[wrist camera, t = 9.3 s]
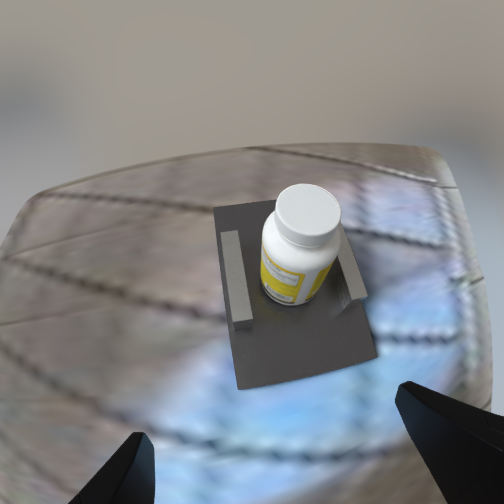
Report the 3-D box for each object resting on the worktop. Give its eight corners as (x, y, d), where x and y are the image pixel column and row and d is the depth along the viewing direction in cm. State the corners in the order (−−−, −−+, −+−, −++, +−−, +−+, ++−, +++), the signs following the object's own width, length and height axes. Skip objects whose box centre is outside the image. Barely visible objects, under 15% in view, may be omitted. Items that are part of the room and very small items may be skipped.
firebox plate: (373, 358, 21) (389, 351, 18) (238, 389, 20) (236, 389, 17) (320, 199, 30) (326, 179, 27) (214, 212, 29) (210, 191, 26)
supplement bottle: (311, 248, 26) (337, 173, 17) (326, 301, 23) (366, 241, 14) (255, 255, 25) (257, 178, 17) (264, 311, 22) (273, 252, 14)
